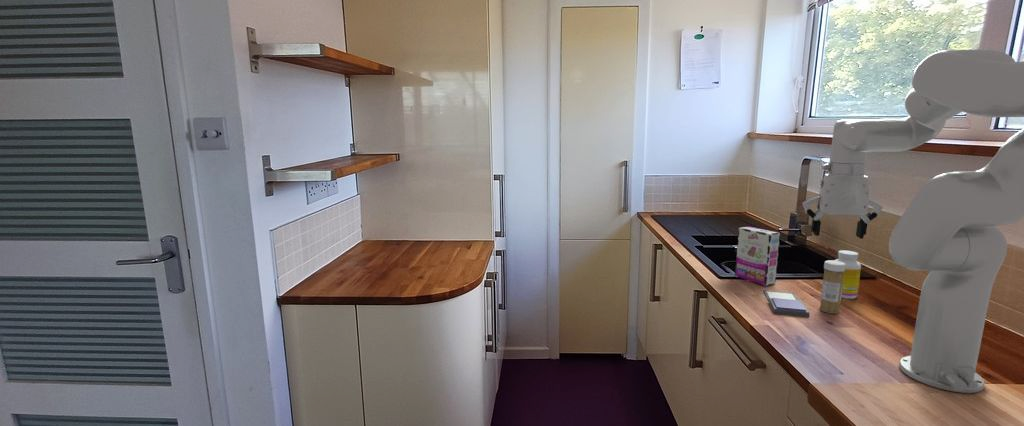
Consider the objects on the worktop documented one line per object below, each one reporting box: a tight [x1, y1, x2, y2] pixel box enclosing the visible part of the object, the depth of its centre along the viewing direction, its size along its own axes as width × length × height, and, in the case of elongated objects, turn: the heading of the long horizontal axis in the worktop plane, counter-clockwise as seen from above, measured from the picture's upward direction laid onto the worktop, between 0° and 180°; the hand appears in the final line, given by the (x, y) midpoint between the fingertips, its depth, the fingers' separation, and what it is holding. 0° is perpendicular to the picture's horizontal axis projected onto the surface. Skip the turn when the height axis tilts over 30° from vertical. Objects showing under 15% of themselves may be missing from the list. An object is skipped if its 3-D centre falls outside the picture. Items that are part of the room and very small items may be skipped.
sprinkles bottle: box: [819, 259, 845, 315], centre depth 126 cm, size 5×5×14 cm
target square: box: [763, 289, 799, 302], centre depth 137 cm, size 8×8×1 cm
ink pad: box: [768, 298, 811, 318], centre depth 128 cm, size 8×8×2 cm
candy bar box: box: [734, 226, 781, 287], centre depth 150 cm, size 11×5×16 cm, turn 27°
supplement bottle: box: [834, 249, 862, 300], centre depth 137 cm, size 7×7×13 cm
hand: (837, 235), depth 123 cm, fingers open, 9 cm apart
